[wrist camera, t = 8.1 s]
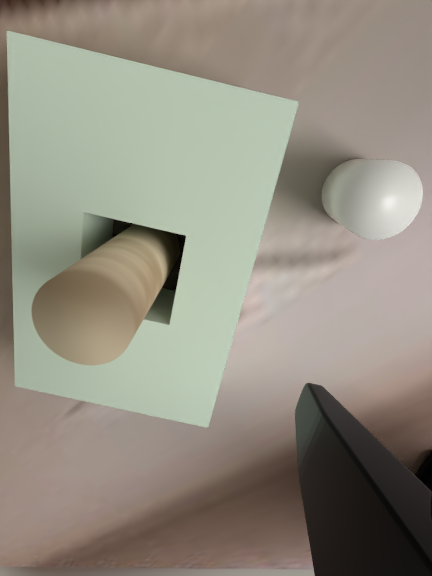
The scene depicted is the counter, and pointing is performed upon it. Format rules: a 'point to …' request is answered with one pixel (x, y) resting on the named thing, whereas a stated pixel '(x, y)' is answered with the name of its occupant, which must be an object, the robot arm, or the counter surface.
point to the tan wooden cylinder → (104, 296)
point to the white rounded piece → (372, 197)
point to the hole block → (138, 211)
